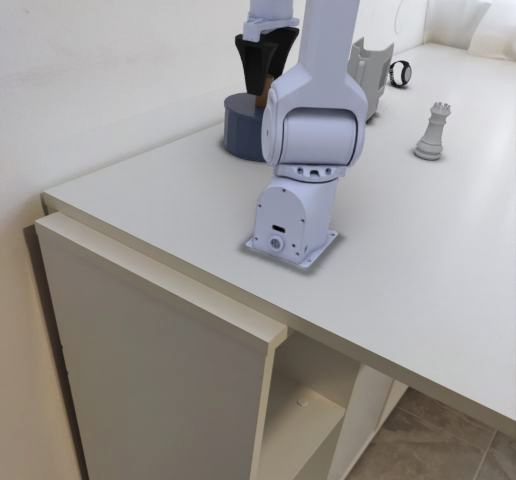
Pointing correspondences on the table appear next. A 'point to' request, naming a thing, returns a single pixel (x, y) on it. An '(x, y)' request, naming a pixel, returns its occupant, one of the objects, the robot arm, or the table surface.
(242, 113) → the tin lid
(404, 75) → the smartwatch
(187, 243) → the table surface
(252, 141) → the tin
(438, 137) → the rook chess piece
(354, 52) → the cable organizer
